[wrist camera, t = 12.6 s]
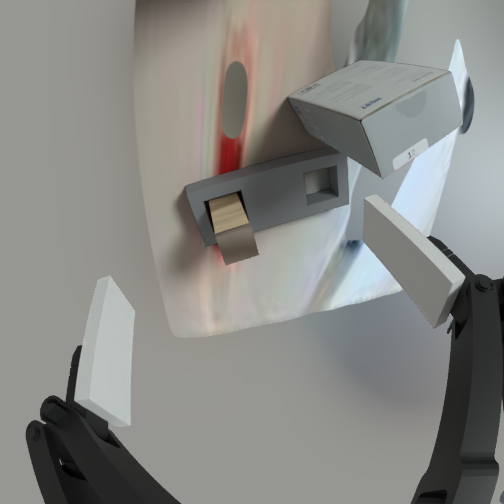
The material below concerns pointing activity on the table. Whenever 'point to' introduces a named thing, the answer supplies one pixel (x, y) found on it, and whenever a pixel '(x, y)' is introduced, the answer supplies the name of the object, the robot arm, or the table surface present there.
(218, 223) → the plug
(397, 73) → the hard drive box
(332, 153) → the socket strip
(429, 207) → the table surface
